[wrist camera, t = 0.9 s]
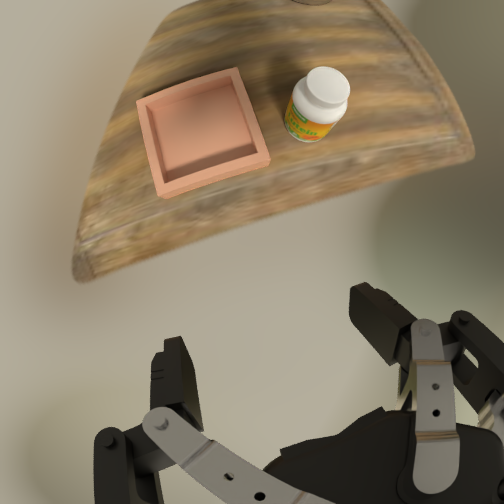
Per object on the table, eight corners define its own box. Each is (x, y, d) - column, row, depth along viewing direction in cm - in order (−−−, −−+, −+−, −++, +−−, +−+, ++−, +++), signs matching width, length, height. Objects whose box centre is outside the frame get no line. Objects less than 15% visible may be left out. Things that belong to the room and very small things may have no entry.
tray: (144, 110, 28) (136, 101, 25) (237, 79, 28) (236, 66, 25) (166, 198, 29) (158, 196, 26) (268, 165, 29) (270, 159, 26)
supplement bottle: (275, 127, 29) (286, 88, 19) (297, 95, 28) (314, 51, 19) (315, 151, 29) (343, 122, 19) (335, 118, 29) (366, 82, 19)
